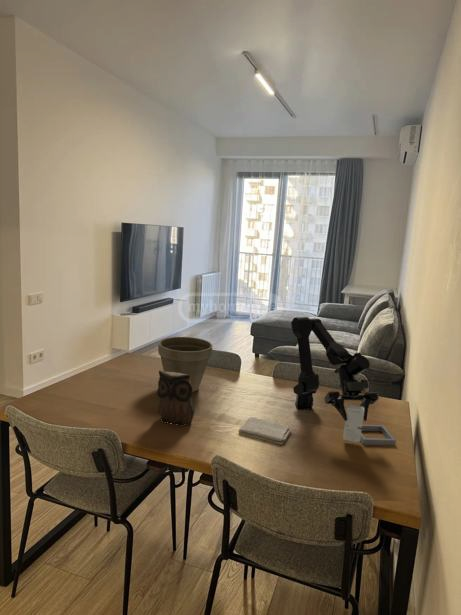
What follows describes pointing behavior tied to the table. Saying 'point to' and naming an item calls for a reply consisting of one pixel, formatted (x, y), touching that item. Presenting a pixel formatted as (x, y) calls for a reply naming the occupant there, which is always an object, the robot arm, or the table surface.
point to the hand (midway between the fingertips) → (355, 420)
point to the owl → (175, 398)
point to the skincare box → (353, 423)
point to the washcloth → (265, 430)
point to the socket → (376, 441)
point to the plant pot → (185, 357)
